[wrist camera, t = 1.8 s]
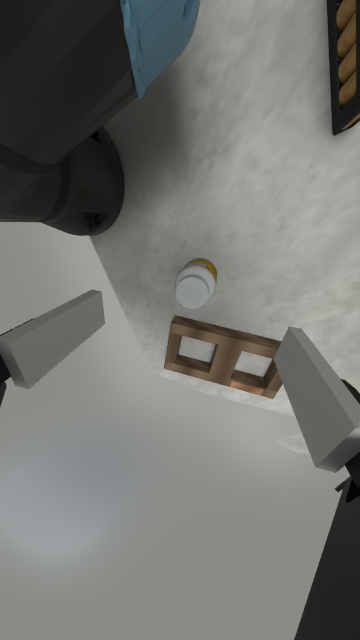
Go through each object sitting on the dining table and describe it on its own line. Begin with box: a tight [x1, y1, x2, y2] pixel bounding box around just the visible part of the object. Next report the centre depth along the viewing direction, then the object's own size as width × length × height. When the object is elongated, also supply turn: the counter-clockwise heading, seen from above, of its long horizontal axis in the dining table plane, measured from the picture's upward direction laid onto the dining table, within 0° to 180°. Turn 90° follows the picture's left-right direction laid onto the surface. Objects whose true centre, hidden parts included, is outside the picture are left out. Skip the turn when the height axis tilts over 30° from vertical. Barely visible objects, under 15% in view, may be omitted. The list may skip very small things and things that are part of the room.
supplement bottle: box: [175, 258, 217, 309], centre depth 25 cm, size 5×5×10 cm
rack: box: [164, 316, 283, 399], centre depth 34 cm, size 22×11×3 cm, turn 80°
